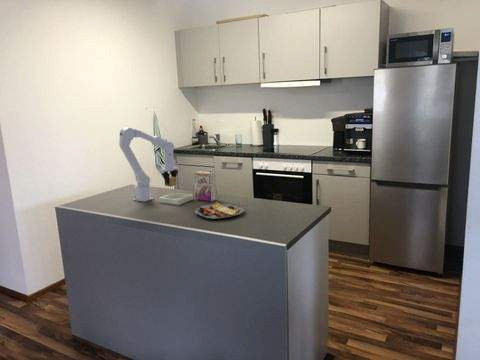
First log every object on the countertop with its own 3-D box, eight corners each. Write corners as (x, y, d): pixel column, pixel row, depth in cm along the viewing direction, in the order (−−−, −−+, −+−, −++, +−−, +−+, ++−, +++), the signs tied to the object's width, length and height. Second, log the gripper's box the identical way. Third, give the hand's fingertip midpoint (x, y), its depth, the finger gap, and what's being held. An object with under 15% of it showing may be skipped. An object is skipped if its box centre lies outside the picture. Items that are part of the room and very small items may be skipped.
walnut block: (164, 185, 244) (164, 177, 243) (170, 184, 248) (169, 176, 247) (171, 186, 242) (170, 178, 241) (176, 184, 246) (176, 176, 245)
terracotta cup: (193, 196, 242) (192, 185, 241) (199, 194, 247) (198, 183, 246) (201, 197, 239) (200, 186, 238) (207, 195, 244) (206, 184, 242)
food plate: (186, 213, 208) (186, 206, 207) (222, 204, 222) (222, 198, 222) (215, 225, 189) (215, 218, 188) (251, 215, 204) (251, 208, 203)
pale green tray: (159, 202, 231) (158, 197, 230) (175, 197, 242) (175, 192, 241) (177, 205, 223) (177, 200, 222) (193, 199, 235) (193, 194, 234)
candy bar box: (195, 199, 234) (194, 172, 231) (200, 197, 238) (199, 170, 235) (211, 201, 228) (209, 173, 225) (216, 199, 233) (214, 172, 229)
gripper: (165, 163, 234) (167, 185, 237) (181, 159, 246) (183, 181, 248) (156, 162, 237) (158, 184, 240) (173, 159, 249) (174, 180, 252)
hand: (170, 182), depth 245 cm, fingers closed on walnut block, 5 cm apart
